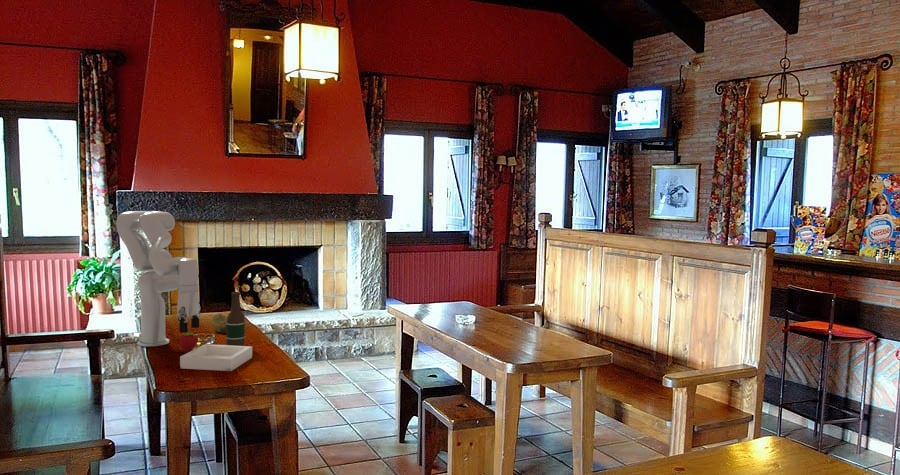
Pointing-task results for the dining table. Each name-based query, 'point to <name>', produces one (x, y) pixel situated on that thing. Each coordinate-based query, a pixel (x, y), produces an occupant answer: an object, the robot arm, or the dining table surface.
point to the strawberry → (188, 341)
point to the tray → (216, 357)
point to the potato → (219, 323)
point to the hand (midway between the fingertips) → (189, 330)
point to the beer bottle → (235, 323)
